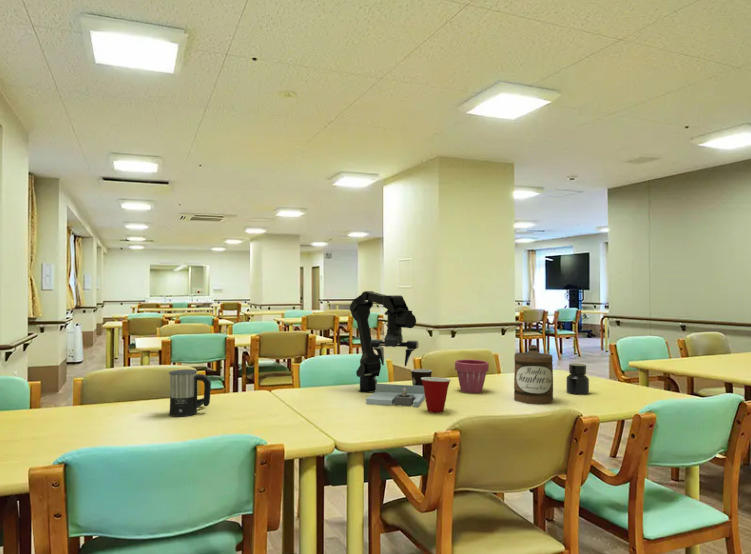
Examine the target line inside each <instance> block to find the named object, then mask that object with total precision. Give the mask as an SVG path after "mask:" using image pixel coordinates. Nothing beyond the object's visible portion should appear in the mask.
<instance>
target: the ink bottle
mask: <svg viewBox="0 0 751 554" xmlns="http://www.w3.org/2000/svg"><path fill="white" fill-rule="evenodd" d="M568 371H569V372H568V373H569V374H568V375H567V376H566V392H567V394H568V393H569V394H571V395H572V394H573V395H578V394H584V395H588V394H589V393H590V379H589V377H588V376H587V375H586V374H587V365H586V364H583V363H569V364H568Z"/></svg>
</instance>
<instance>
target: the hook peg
mask: <svg viewBox="0 0 751 554" xmlns="http://www.w3.org/2000/svg"><path fill="white" fill-rule="evenodd" d="M402 397H407V388H402Z"/></svg>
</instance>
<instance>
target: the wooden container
mask: <svg viewBox="0 0 751 554" xmlns="http://www.w3.org/2000/svg"><path fill="white" fill-rule="evenodd" d="M538 349H539V348H538V346H537V345H536V344H531V345H529V346H528V351H526V352H517V353H514V357H513V359H514V377H513V380H514V381H513V389H514V392H513V396H514V397H513V399H514V401H516V402H520V403H523V404H529V405H548V404H552V403H553V402H554V367H553V362H554V361H553V355H552V354H550V353H544V352H539V351H538Z"/></svg>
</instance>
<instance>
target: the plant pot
mask: <svg viewBox="0 0 751 554" xmlns="http://www.w3.org/2000/svg"><path fill="white" fill-rule="evenodd" d="M489 366H490V365H489V362H488V361H486V360H479V359H456V360H455V361H454V369H455V371H456V373H457V379H458V383H459V389H460V392H461V393H467V394H480V392H481V393H482V392H483V389H484V385H485V381H486V376H487V372H489V370H490V369H489V368H490V367H489Z"/></svg>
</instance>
